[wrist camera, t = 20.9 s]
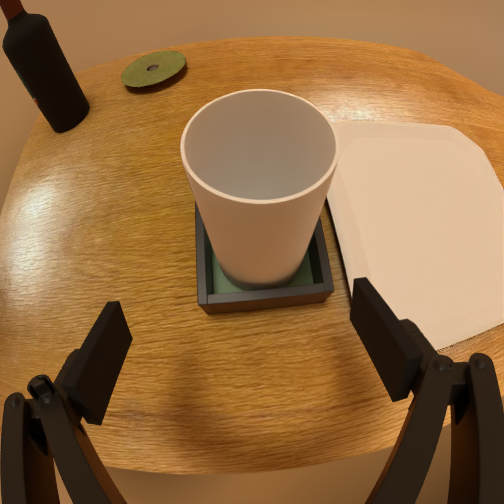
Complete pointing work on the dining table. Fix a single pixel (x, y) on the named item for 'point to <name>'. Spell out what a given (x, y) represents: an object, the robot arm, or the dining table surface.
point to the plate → (421, 224)
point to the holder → (293, 294)
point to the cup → (260, 181)
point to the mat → (153, 68)
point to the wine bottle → (43, 67)
